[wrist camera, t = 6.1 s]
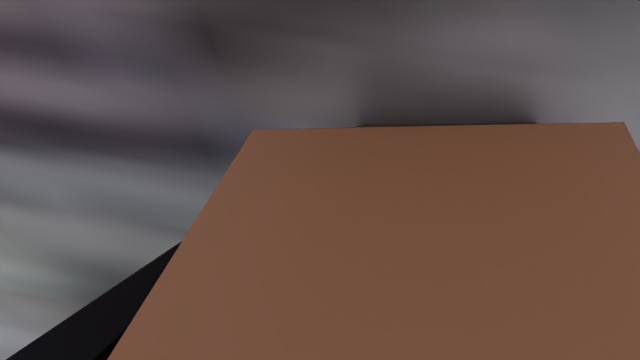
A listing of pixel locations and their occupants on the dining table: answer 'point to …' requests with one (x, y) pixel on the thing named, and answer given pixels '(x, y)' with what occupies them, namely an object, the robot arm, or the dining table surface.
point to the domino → (408, 249)
